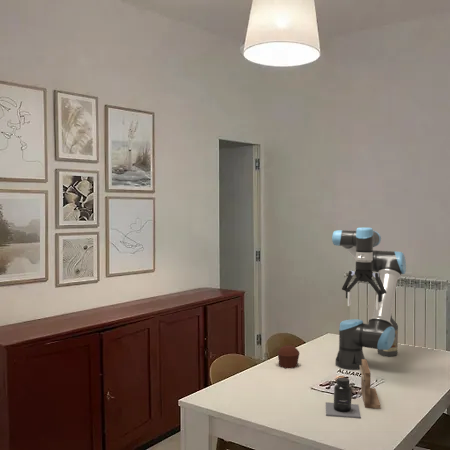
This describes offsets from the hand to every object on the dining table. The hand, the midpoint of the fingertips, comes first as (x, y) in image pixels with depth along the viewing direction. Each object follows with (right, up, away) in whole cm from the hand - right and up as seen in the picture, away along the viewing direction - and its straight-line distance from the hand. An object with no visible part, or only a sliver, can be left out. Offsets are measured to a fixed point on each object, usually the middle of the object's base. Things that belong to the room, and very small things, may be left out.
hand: (363, 307), depth 245 cm
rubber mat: (-17, -36, -34) cm, 52 cm away
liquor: (+26, -34, +49) cm, 65 cm away
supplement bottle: (-17, -35, -34) cm, 52 cm away
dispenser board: (-3, -35, -21) cm, 41 cm away
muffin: (-31, -34, +26) cm, 53 cm away
